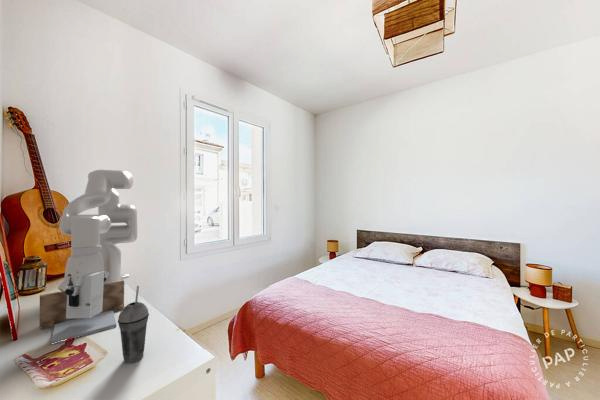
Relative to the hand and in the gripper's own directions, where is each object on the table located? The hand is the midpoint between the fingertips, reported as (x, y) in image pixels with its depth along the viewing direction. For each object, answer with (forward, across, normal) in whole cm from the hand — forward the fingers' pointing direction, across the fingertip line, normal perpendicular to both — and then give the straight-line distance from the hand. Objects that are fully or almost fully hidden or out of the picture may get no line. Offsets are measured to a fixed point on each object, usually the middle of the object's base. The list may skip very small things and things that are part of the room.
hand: (85, 301), depth 85 cm
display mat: (+9, 0, 0) cm, 9 cm away
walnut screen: (+9, -6, -9) cm, 14 cm away
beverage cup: (+9, +10, +32) cm, 34 cm away
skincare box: (+5, 0, 0) cm, 5 cm away
